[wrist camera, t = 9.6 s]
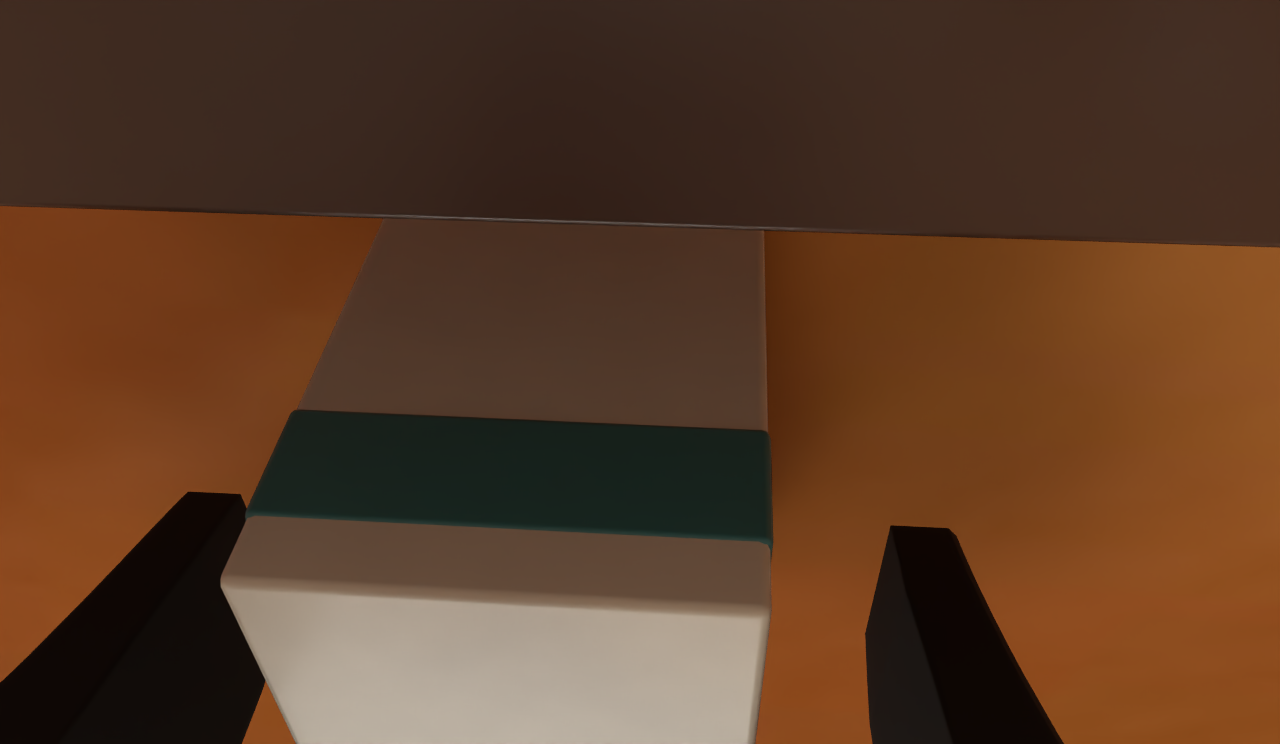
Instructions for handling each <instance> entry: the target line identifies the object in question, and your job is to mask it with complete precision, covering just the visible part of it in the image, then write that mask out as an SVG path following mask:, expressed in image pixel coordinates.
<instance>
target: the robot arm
mask: <svg viewBox="0 0 1280 744" xmlns="http://www.w3.org/2000/svg"><path fill="white" fill-rule="evenodd" d="M246 510H247V508H246V506H245V504H244V501H243V499H242V496H241V494H225V493H205V492H187V493H186V494H185V495H184V496H183V497H182V498H181V499H180V500H179V501H178V502H177V503H176V504H175V505H174V506H173V507H172V508H171V509H170V510H169V511H168V512H167V513H166V514H165V515H164V517H163V518H162V519H161V520H160V521H159V522H158V523H157V524H156V525H155V526H154V527H153V528H152V529H151V530H150V531H149V532H148V533H147V534H146V535H145V536H144V537H143V539H142V540H141V541H140V542H139V543H138V544H137V545H136V546H135V547H134V548H133V549H132V550H131V551H130V552H129V553H128V554H127V555H126V556H125V558H124V559H123V560H122V561H121V562H120V563H119V564H118V565H117V566H116V567H115V568H114V569H113V570H112V571H111V572H110V573H109V574H108V575H107V576H106V577H105V578H104V579H103V581H102V582H101V583H100V584H99V585H98V586H97V587H96V588H95V589H94V590H93V591H92V592H91V593H90V594H89V595H88V596H87V597H86V598H85V599H84V600H83V601H82V602H81V603H80V604H79V605H78V606H77V607H76V608H75V609H74V610H73V611H72V612H71V613H70V614H69V615H68V616H67V617H66V618H65V619H64V620H63V621H62V622H61V623H60V624H59V625H58V626H57V627H56V629H55V630H54V631H53V632H52V633H51V634H50V635H49V636H48V637H47V638H46V639H45V640H44V641H43V642H42V643H41V644H40V645H39V646H38V647H37V648H36V649H35V650H34V651H33V652H32V653H31V654H30V655H29V656H28V657H27V658H26V659H25V660H24V661H23V662H22V663H20V664H19V665H18V666H17V667H16V668H15V669H14V670H13V671H12V672H11V673H10V674H9V675H8V676H7V677H6V678H5V679H4V680H3V681H2V682H0V744H242V742H243V739H244V736H245V734H246V731H247V729H248V726H249V724H250V721H251V719H252V716H253V713H254V711H255V708H256V706H257V703H258V700H259V698H260V695H261V693H262V690H263V687H264V684H265V678H264V676H263V674H262V672H261V670H260V667H259V665H258V663H257V661H256V659H255V657H254V655H253V653H252V651H251V649H250V647H249V645H248V642H247V640H246V638H245V636H244V634H243V632H242V630H241V628H240V626H239V624H238V622H237V620H236V618H235V615H234V613H233V611H232V609H231V607H230V605H229V603H228V601H227V599H226V597H225V595H224V593H223V590H222V588H221V575H222V573H223V571H224V568H225V566H226V564H227V562H228V560H229V557H230V555H231V553H232V551H233V549H234V546H235V544H236V542H237V540H238V538H239V535H240V533H241V531H242V529H243V527H244V524H245V522H246V518H245V513H246ZM865 638H866V661H867V683H868V701H869V719H870V729H871V735H872V742H873V744H1064V743H1063V742H1062V740H1061V738H1060V737H1059V735H1058V733H1057V732H1056V730H1055V728H1054V726H1053V725H1052V723H1051V721H1050V719H1049V718H1048V716H1047V714H1046V712H1045V711H1044V709H1043V707H1042V705H1041V704H1040V702H1039V700H1038V698H1037V697H1036V695H1035V693H1034V691H1033V690H1032V688H1031V686H1030V685H1029V683H1028V681H1027V679H1026V678H1025V676H1024V674H1023V672H1022V670H1021V668H1020V667H1019V665H1018V663H1017V661H1016V659H1015V657H1014V655H1013V654H1012V652H1011V650H1010V648H1009V646H1008V644H1007V642H1006V640H1005V638H1004V636H1003V634H1002V632H1001V630H1000V628H999V627H998V625H997V623H996V621H995V619H994V617H993V615H992V613H991V611H990V609H989V607H988V605H987V603H986V601H985V598H984V596H983V594H982V592H981V590H980V588H979V586H978V584H977V582H976V580H975V577H974V575H973V573H972V571H971V569H970V566H969V564H968V562H967V560H966V557H965V555H964V553H963V551H962V548H961V546H960V543H959V541H958V539H957V536H956V535H955V534H954V533H953V532H952V531H951V530H950V529H949V528H932V527H911V526H890V531H889V535H888V539H887V543H886V548H885V552H884V556H883V560H882V565H881V569H880V573H879V577H878V582H877V586H876V590H875V594H874V599H873V603H872V607H871V611H870V616H869V620H868V624H867V628H866V633H865Z"/></svg>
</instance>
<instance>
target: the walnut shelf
mask: <svg viewBox="0 0 1280 744" xmlns="http://www.w3.org/2000/svg"><path fill="white" fill-rule="evenodd" d="M0 206H21V207H51V208H82V209H113V210H144V211H174V212H205V213H236V214H267V215H298V216H328V217H359V218H390V219H421V220H451V221H482V222H513V223H544V224H575V225H605V226H636V227H667V228H698V229H729V230H759V231H790V232H821V233H852V234H882V235H913V236H944V237H975V238H1006V239H1036V240H1067V241H1098V242H1129V243H1159V244H1190V245H1221V246H1252V247H1280V0H0Z"/></svg>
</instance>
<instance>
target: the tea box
mask: <svg viewBox="0 0 1280 744" xmlns="http://www.w3.org/2000/svg"><path fill="white" fill-rule="evenodd" d="M245 518H246V522H245V524H244V527H243V529H242V531H241V533H240V535H239V538H238V540H237V542H236V544H235V546H234V549H233V551H232V553H231V555H230V557H229V560H228V562H227V564H226V566H225V568H224V571H223V573H222V575H221V588H222V590H223V593H224V595H225V597H226V599H227V601H228V603H229V605H230V607H231V609H232V611H233V613H234V615H235V618H236V620H237V622H238V624H239V626H240V628H241V630H242V632H243V634H244V636H245V638H246V640H247V642H248V645H249V647H250V649H251V651H252V653H253V655H254V657H255V659H256V661H257V663H258V665H259V667H260V670H261V672H262V674H263V676H264V678H265V680H266V682H267V684H268V686H269V688H270V690H271V692H272V695H273V697H274V699H275V701H276V703H277V705H278V707H279V709H280V711H281V713H282V715H283V717H284V719H285V722H286V724H287V726H288V728H289V730H290V732H291V734H292V736H293V738H294V740H295V742H296V744H755V741H756V733H757V725H758V717H759V709H760V701H761V693H762V685H763V676H764V668H765V660H766V652H767V644H768V636H769V628H770V619H771V611H772V608H771V557H772V548H773V508H772V464H771V438H770V436H769V434H768V406H767V355H766V305H765V254H764V231H759V230H729V229H698V228H667V227H636V226H605V225H575V224H544V223H513V222H482V221H451V220H421V219H390V218H384V219H383V221H382V223H381V226H380V228H379V230H378V232H377V234H376V237H375V239H374V241H373V243H372V245H371V248H370V250H369V252H368V254H367V256H366V259H365V261H364V263H363V265H362V267H361V270H360V272H359V274H358V276H357V278H356V281H355V283H354V285H353V287H352V289H351V292H350V294H349V296H348V298H347V300H346V303H345V305H344V307H343V309H342V311H341V314H340V316H339V318H338V320H337V322H336V325H335V327H334V329H333V331H332V333H331V336H330V338H329V340H328V342H327V344H326V347H325V349H324V351H323V353H322V355H321V357H320V360H319V362H318V364H317V366H316V368H315V371H314V373H313V375H312V377H311V379H310V382H309V384H308V386H307V388H306V390H305V393H304V395H303V397H302V399H301V401H300V404H299V406H298V408H297V410H294V411H293V412H292V413H291V414H290V416H289V418H288V420H287V422H286V425H285V427H284V429H283V431H282V433H281V436H280V438H279V440H278V442H277V444H276V446H275V449H274V451H273V453H272V455H271V457H270V459H269V462H268V464H267V466H266V468H265V470H264V473H263V475H262V477H261V479H260V481H259V483H258V486H257V488H256V490H255V492H254V494H253V496H252V499H251V501H250V503H249V505H248V507H247V510H246V513H245Z"/></svg>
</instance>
